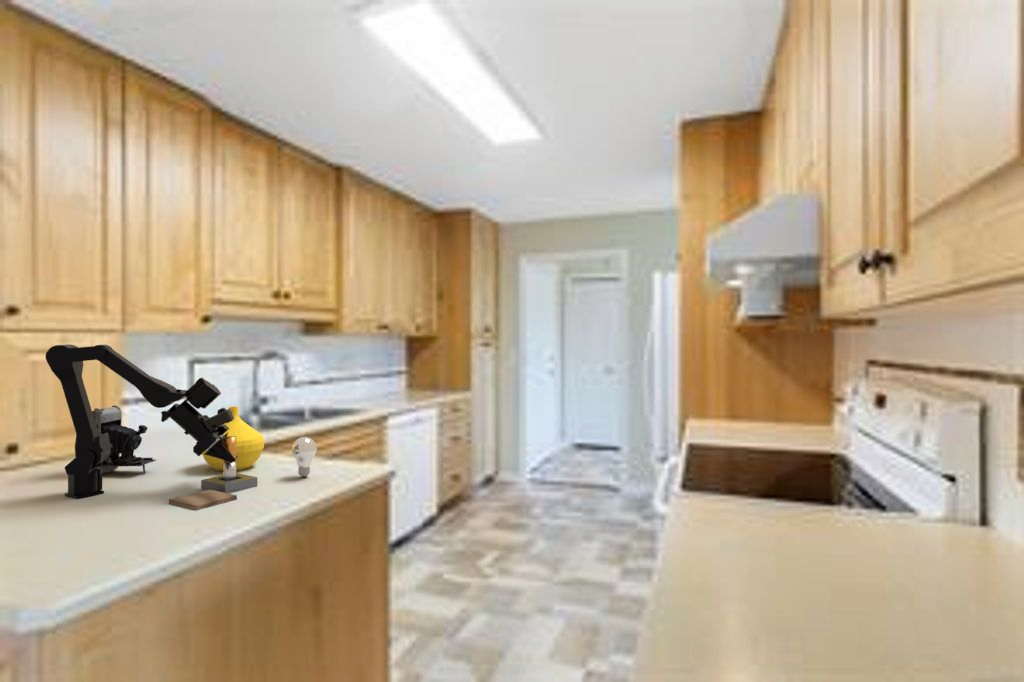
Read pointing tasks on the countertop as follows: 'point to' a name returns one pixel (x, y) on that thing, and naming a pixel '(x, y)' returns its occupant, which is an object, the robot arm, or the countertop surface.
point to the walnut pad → (202, 499)
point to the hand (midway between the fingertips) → (235, 459)
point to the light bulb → (304, 454)
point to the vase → (240, 444)
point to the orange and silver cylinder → (228, 467)
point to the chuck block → (229, 483)
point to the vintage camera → (119, 440)
